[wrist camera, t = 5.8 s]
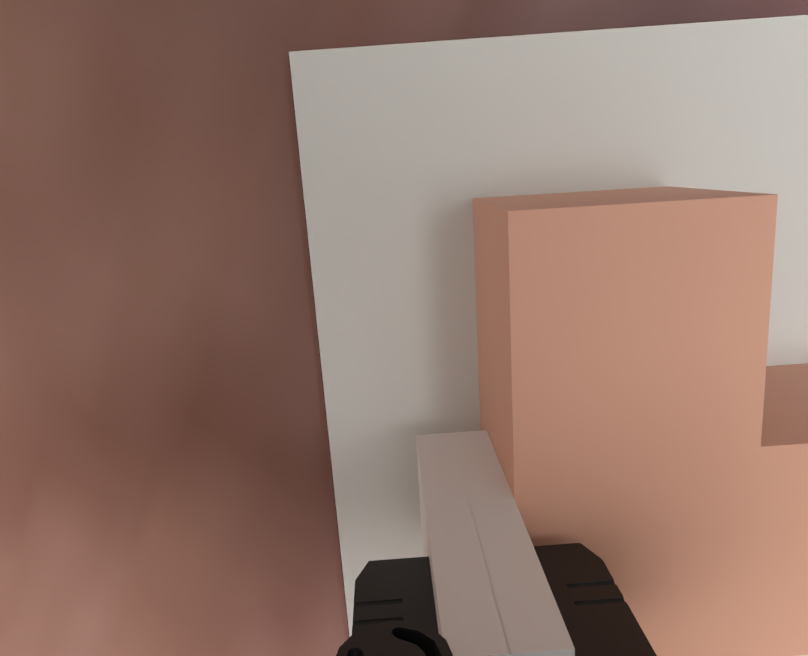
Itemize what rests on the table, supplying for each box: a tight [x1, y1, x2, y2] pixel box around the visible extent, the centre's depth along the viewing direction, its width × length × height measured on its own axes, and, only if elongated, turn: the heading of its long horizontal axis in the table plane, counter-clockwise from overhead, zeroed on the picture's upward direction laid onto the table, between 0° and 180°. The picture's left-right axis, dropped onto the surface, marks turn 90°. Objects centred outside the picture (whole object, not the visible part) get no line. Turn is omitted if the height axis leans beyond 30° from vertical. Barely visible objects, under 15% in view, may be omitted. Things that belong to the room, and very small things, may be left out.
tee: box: [473, 186, 808, 656], centre depth 13 cm, size 12×12×4 cm
